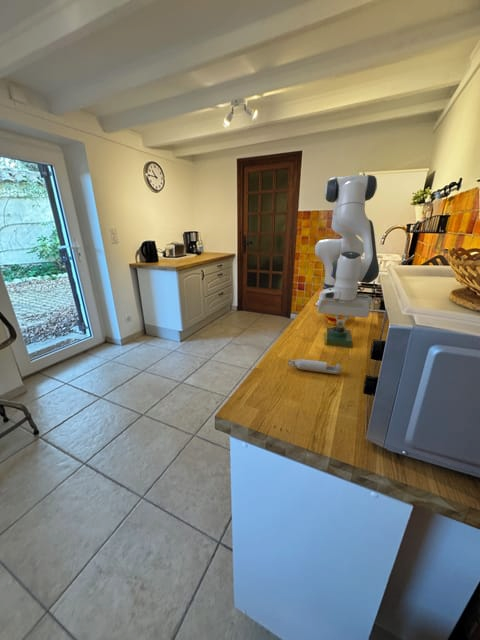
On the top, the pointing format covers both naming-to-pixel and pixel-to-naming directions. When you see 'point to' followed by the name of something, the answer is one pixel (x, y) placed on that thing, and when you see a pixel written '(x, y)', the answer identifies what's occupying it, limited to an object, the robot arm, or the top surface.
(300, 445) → the top surface
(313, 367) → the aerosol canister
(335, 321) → the potion bottle
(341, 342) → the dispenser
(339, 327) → the pump
